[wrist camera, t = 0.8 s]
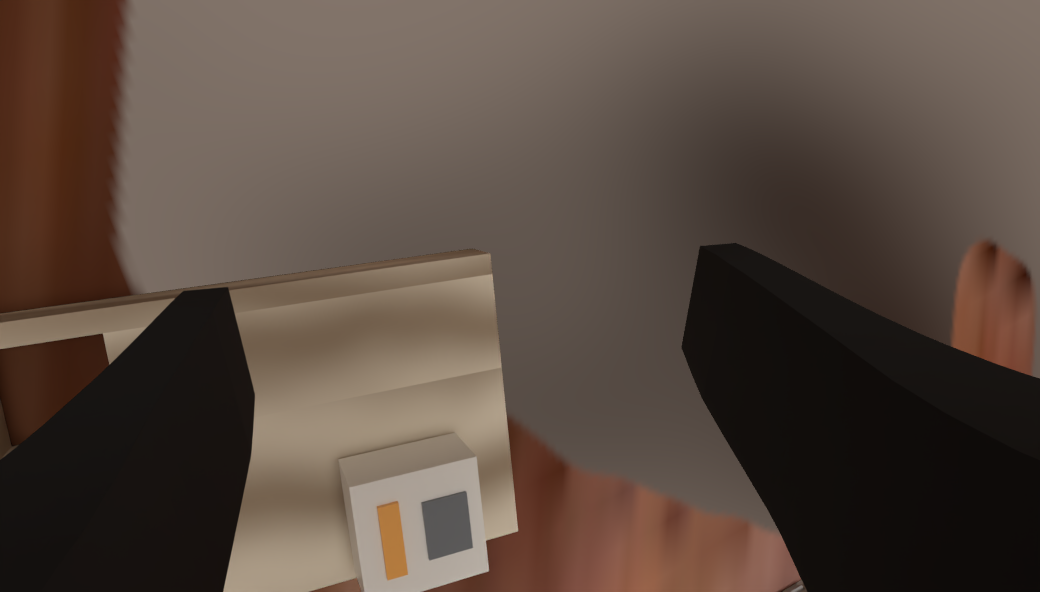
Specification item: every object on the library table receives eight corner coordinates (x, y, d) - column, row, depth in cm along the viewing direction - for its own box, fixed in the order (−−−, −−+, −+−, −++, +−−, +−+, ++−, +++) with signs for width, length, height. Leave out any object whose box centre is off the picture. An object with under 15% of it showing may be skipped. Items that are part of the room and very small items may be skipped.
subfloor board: (499, 508, 36) (518, 532, 33) (-303, 728, 25) (-359, 786, 23) (472, 248, 33) (490, 253, 31) (-430, 372, 23) (-507, 395, 20)
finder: (466, 537, 32) (490, 573, 29) (354, 569, 30) (367, 611, 27) (454, 432, 31) (478, 458, 28) (338, 459, 29) (350, 489, 27)
